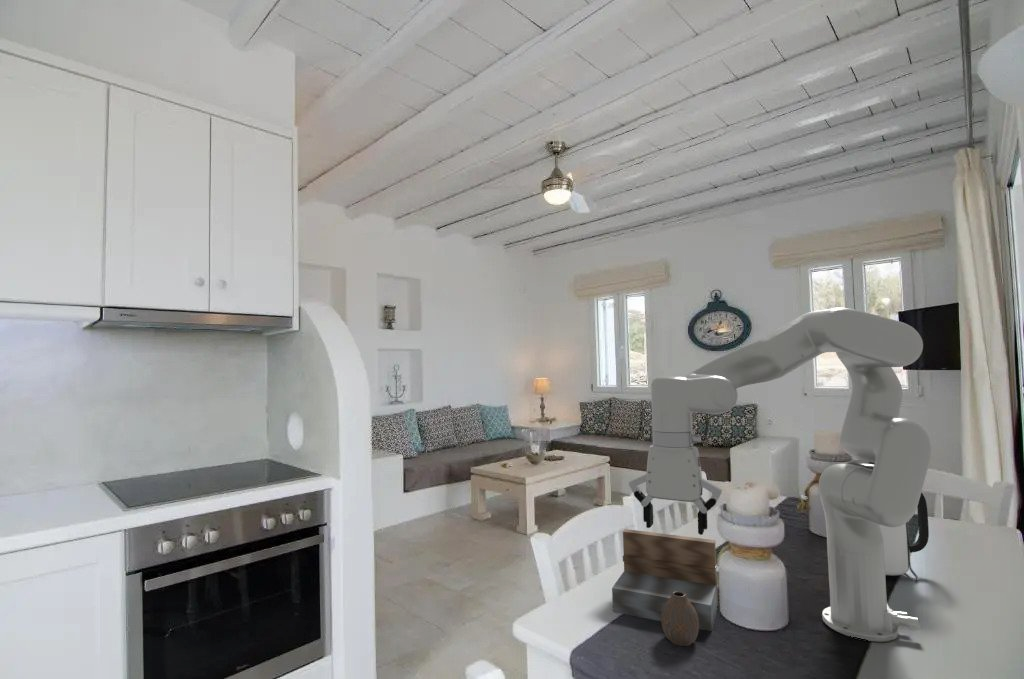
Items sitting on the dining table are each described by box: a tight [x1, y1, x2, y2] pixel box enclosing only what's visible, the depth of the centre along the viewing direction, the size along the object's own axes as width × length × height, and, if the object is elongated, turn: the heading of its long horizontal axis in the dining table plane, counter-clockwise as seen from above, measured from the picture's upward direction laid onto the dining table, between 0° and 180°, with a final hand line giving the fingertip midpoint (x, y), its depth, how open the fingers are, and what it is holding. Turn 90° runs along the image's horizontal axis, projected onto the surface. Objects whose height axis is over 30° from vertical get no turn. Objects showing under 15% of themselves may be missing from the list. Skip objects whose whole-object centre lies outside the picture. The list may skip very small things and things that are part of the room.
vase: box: [660, 591, 700, 647], centre depth 99 cm, size 7×7×9 cm
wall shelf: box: [611, 528, 719, 632], centre depth 112 cm, size 20×12×14 cm, turn 63°
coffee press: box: [846, 459, 930, 582], centre depth 129 cm, size 17×16×30 cm
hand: (675, 529), depth 100 cm, fingers open, 9 cm apart
